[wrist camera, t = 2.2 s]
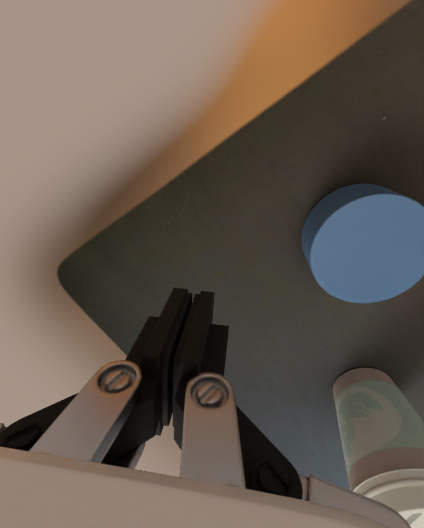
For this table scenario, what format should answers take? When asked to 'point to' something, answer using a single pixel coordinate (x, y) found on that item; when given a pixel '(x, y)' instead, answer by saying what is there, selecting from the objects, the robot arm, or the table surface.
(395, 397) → the coffee cup
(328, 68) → the table surface
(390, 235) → the puck
